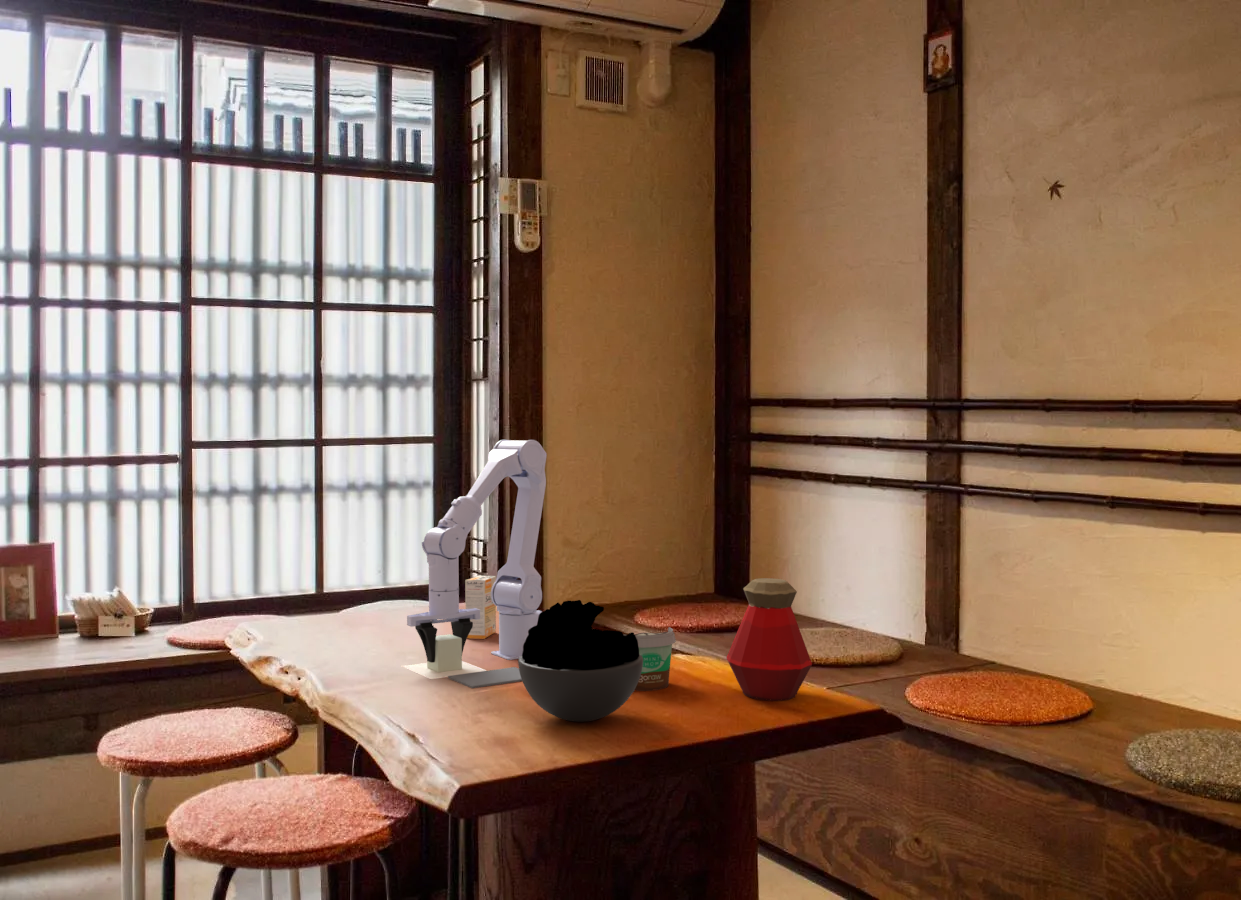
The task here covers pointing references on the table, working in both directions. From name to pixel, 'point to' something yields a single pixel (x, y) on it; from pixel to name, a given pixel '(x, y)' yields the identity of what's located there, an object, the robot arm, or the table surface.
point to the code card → (433, 674)
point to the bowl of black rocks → (578, 663)
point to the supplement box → (481, 605)
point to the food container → (655, 659)
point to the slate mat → (488, 677)
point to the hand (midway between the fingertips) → (444, 659)
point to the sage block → (447, 654)
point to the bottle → (769, 643)
